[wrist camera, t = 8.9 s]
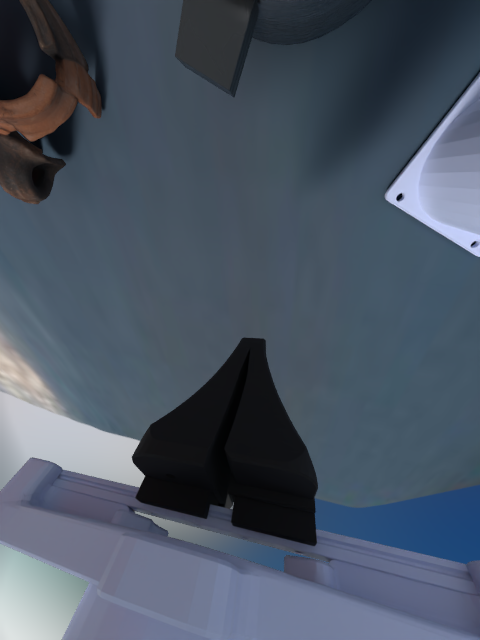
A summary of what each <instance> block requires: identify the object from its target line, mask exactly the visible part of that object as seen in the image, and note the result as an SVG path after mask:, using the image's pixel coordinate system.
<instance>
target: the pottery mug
mask: <svg viewBox="0 0 480 640" xmlns="http://www.w3.org/2000/svg"><path fill="white" fill-rule="evenodd" d="M19 1H20V3H21V4H22V6H23V8H24V9H25V11H26V13H27V15H28V17H29V19H30V21H31V23H32V25H33V28H34V30H35V33H36V36H37V39H38V43H39V46H40V48H41V49H42V51H44V52H45V53H47V54H48V55H49V56H51V57H52V58H53V59H54V60H55V61H56V63H55V64H56V66H55V67H56V79H55V81H54V80H52V79H51V78H49V77H47V76H45V75H43V74H40V75H39V77H38V79H37V81H36V82H35V84H34V86H33V87H32V88H31V90H30V91H29V92H28V93H27V94H26V95H24V96H22V97H19V98H16V99H13V100H0V185H1V186H2V187H3V189H4V190H5V191H6V192H7V193H9V194H10V195H12V196H13V197H15V198H17V199H20V200H22V201H24V202H27V203H33V204H39V203H40V201H42V200H44V199H46V198H47V197H48V196H49V194H50V192H51V190H52V186H53V181H54V176H55V174H56V173H57V172H58V171H59V170H60V169H62V168H63V167H64V166H65V165H66V164H65V162H64V161H63V160H62V159H57V158H51V157H48V156H46V155H44V154H42V153H43V152H42V150H41V149H39V148H38V147H36V146H34V145H33V144H31V143H30V142H28V141H27V140H26V139H24V138H23V137H22V136H21V135H20V134H19V133H18V132H17V131H19V132H20V133H21V134H23V135H24V136H25V137H26V138H27V139H28V140H29V141H31V142H32V141H36V140H37V139H40V138H42V137H44V136H45V135H47V134H50V133H52V132H54V131H55V130H56V129H57V128H58V127H59V126H60V125H61V124H62V123H64V122H65V121H66V120H67V119H68V118H69V117H70V116H71V115H72V113H73V111H74V109H75V107H76V105H77V101H78V102H79V103H81V104H82V105H84V106H85V107H86V108H87V109H88V110H89V111H90V113H91V114H92V115H93V116H94V117H95V118H101V96H100V93H99V91H98V89H97V87H96V83H95V81H94V80H93V79H92V78H91V77H90V76H89V74H88V65H87V62H86V60H85V58H84V56H83V54H82V53H81V51H80V49H79V47H78V45H77V44H76V42H75V40H74V39H73V37H72V35H71V34H70V32H69V30H68V29H67V27H66V25H65V24H64V23H63V21H62V19H61V18H60V16H59V15H58V13H57V12H56V10H55V9H54V8H53V6H52V5H51V4H50V2H49V1H48V0H19Z"/></svg>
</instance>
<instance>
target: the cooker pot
mask: <svg viewBox="0 0 480 640" xmlns="http://www.w3.org/2000/svg"><path fill="white" fill-rule="evenodd" d="M370 1H372V0H183V7H182V13H181V20H180V27H179V33H178V40H177V47H176V53H175V57H176V58H177V59H178V60H179V61H180V62H181V63H182V64H183V65H184V66H185V67H186V68H188V69H189V70H191V71H193V72H194V73H196V74H197V75H199V76H201V77H202V78H204V79H205V80H207V81H209V82H210V83H212V84H213V85H215V86H217V87H218V88H220V89H221V90H223V91H224V92H226V93H228V94H229V95H231V96H232V97H234V96H235V93H236V90H237V86H238V83H239V79H240V76H241V73H242V69H243V66H244V62H245V59H246V56H247V52H248V49H249V45H250V42H251V38H252V37H254V38H255V39H257V40H261V41H264V42H267V43H271V44H281V45H290V44H298V43H304V42H307V41H310V40H313V39H316V38H319V37H321V36H323V35H325V34H327V33H329V32H331V31H333V30H334V29H336V28H338V27H339V26H341V25H342V24H344V23H345V22H346V21H348V20H349V19H351V18H352V17H353V16H355V15H356V14H357V13H358V12H359V11H361V10H362V9H363V8H364V7H365V6H366V5H367V4H368V3H369V2H370Z"/></svg>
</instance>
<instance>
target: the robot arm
mask: <svg viewBox="0 0 480 640" xmlns="http://www.w3.org/2000/svg"><path fill="white" fill-rule="evenodd" d="M400 193H402V198H401V199H400V200H399V201H397V200H396V197H397V195H399V194H400ZM385 199H386V200H387V201H389V202H390V203H392V204H393V205H395V206H397V207H398V208H400V209H401V210H403V211H405V212H406V213H408V214H409V215H411V216H413V217H414V218H416V219H417V220H419V221H421V222H422V223H424V224H425V225H427V226H429V227H430V228H432V229H434V230H435V231H437V232H438V233H440V234H442V235H443V236H445V237H446V238H448V239H450V240H451V241H453V242H454V243H456V244H458V245H459V246H461V247H462V248H464V249H466V250H467V251H469V252H471V253H472V254H474V255H476V256H478V257H480V73H479V74H478V76H477V77H476V78H475V79H474V81H473V82H472V83H471V84H470V86H469V87H468V88H467V89H466V91H465V92H464V93H463V95H462V96H461V97H460V98H459V100H458V101H457V102H456V103H455V105H454V106H453V107H452V108H451V110H450V111H449V112H448V114H447V115H446V116H445V117H444V119H443V120H442V121H441V122H440V124H439V125H438V126H437V127H436V129H435V130H434V131H433V133H432V134H431V135H430V136H429V138H428V139H427V140H426V141H425V143H424V144H423V145H422V146H421V148H420V149H419V150H418V152H417V153H416V154H415V155H414V157H413V158H412V159H411V160H410V162H409V163H408V164H407V165H406V167H405V168H404V169H403V171H402V172H401V173H400V174H399V176H398V177H397V178H396V179H395V181H394V182H393V183H392V184H391V186H390V187H389V188H388V190H387V191H386V193H385ZM474 241H476V243H475V244H474V245H472V246H471V244H472V243H473V242H474ZM132 460H133V463H134V464H135V465H136V466H137V467H138V469H139V470H140V471H141V472H142V473H143V474H144V475H145V478H144V480H143V482H142V484H141V486H140V488H139V487H135V486H130V485H126V484H122V483H117V482H113V481H109V480H104V479H100V478H96V477H92V476H87V475H83V474H79V473H75V472H71V471H66V470H62V468H61V467H60V466H58V465H57V464H55V463H52V462H50V461H46V460H42V459H37V458H30V459H29V460H28V461H27V462H26V463H25V464H24V466H23V467H22V468H21V469H20V470H19V471H18V472H17V473H16V475H14V477H13V478H12V479H11V480H10V481H9V482H8V483H7V484H6V485H5V487H3V489H2V490H1V491H0V544H2V545H5V546H7V547H9V548H12V549H14V550H16V551H19V552H21V553H23V554H26V555H28V556H30V557H32V558H35V559H37V560H39V561H42V562H44V563H46V564H49V565H51V566H53V567H55V568H58V569H60V570H62V571H65V572H67V573H69V574H71V575H74V576H76V577H78V578H81V579H83V580H85V581H88V582H89V585H88V587H87V589H86V591H85V593H84V595H83V597H82V599H81V601H80V603H79V605H78V607H77V609H76V612H75V613H74V615H73V618H72V620H71V622H70V624H69V626H68V628H67V630H66V632H65V634H64V636H63V638H62V640H480V561H471V562H469V563H468V564H467V565H466V564H462V563H458V562H454V561H449V560H445V559H441V558H437V557H432V556H428V555H424V554H420V553H415V552H411V551H407V550H402V549H398V548H394V547H390V546H386V545H381V544H377V543H373V542H368V541H364V540H360V539H356V538H351V537H347V536H343V535H339V534H335V533H330V532H326V531H322V530H318V529H316V525H315V499H314V497H315V494H316V492H317V489H318V482H317V477H316V473H315V470H314V467H313V464H312V461H311V458H310V456H309V453H308V450H307V448H306V446H305V444H304V443H303V441H302V439H301V438H300V436H299V434H298V433H297V431H296V429H295V427H294V426H293V424H292V422H291V420H290V418H289V416H288V414H287V412H286V410H285V408H284V406H283V404H282V402H281V400H280V398H279V395H278V393H277V390H276V388H275V385H274V382H273V380H272V377H271V373H270V370H269V366H268V362H267V358H266V340H264V339H259V338H242V339H241V341H240V343H239V344H238V346H237V347H236V349H235V350H234V352H233V353H232V354H231V356H230V357H229V358H228V359H227V361H226V362H225V363H224V364H223V366H222V367H221V368H220V369H219V370H218V371H217V373H216V374H215V375H214V376H213V377H212V378H211V379H210V380H209V381H208V382H207V383H206V384H205V385H204V386H203V387H202V388H200V389H199V390H198V391H197V392H196V393H195V394H194V395H192V396H191V397H190V398H189V399H187V400H186V401H185V402H183V403H182V404H181V405H179V406H178V407H177V408H176V409H174V410H173V411H171V412H170V413H168V414H167V415H165V416H164V417H162V418H161V419H159V420H158V421H156V422H154V423H153V424H151V425H150V427H149V428H148V430H147V431H146V433H145V434H144V436H143V438H142V439H141V441H140V443H139V445H138V447H137V449H136V450H135V452H134V454H133V456H132ZM233 502H234V506H233V510H232V509H230V508H231V507H232V505H233ZM134 511H137V512H141V513H144V514H148V515H152V516H156V517H160V518H163V519H167V520H171V521H175V522H179V523H182V524H186V525H190V526H194V527H197V528H201V529H205V530H209V531H213V532H216V533H220V534H224V535H228V536H232V537H236V538H239V539H243V540H247V541H251V542H255V543H258V544H262V545H266V546H270V547H273V548H277V549H281V550H285V551H289V552H292V553H296V554H300V555H304V556H308V557H311V558H315V559H310V558H304V557H297V556H290V555H286V556H285V558H284V572H282V571H278V570H276V569H272V568H270V567H267V566H263V565H260V564H257V563H254V562H251V561H248V560H245V559H242V558H239V557H236V556H233V555H229V554H226V553H223V552H220V551H217V550H213V549H210V548H207V547H203V546H200V545H197V544H193V543H190V542H186V541H182V540H179V539H175V538H171V537H167V536H168V531H167V530H165V529H163V528H161V527H159V526H158V525H156V524H155V523H154V522H153V521H152V520H151V519H149V518H146V517H144V516H141V515H138V514H135V512H134ZM316 559H319V560H316ZM320 560H323V561H326V562H329V563H326V562H323V561H320Z"/></svg>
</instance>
